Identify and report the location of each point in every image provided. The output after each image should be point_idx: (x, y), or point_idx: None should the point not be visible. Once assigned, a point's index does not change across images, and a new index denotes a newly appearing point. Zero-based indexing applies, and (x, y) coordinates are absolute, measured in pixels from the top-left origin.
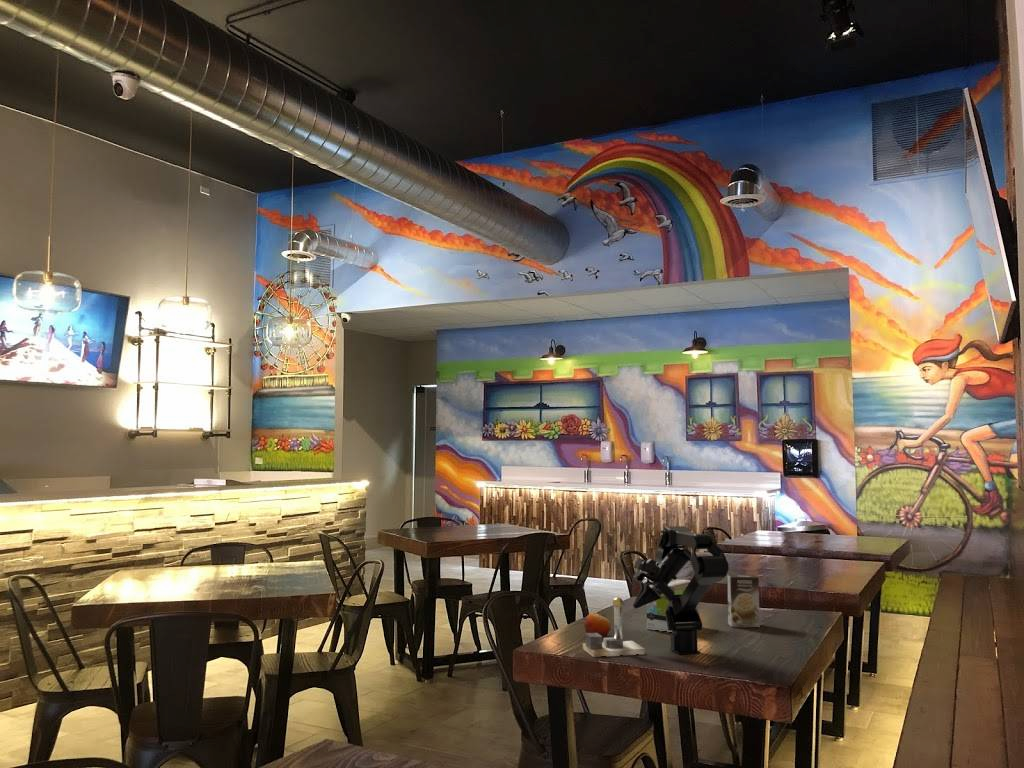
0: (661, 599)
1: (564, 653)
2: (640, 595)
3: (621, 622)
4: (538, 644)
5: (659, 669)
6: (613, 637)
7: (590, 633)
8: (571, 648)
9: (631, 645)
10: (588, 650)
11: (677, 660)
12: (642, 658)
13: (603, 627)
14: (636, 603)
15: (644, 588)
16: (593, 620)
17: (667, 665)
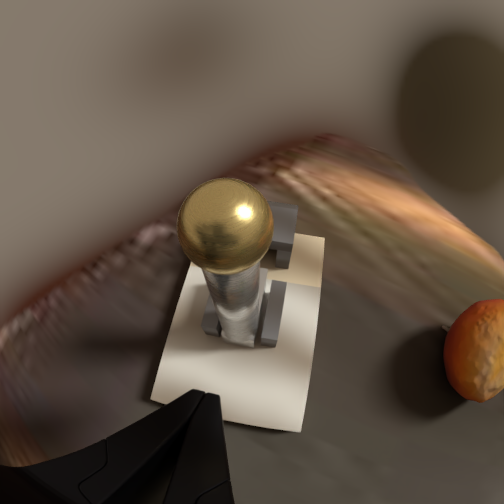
0: None
1: (286, 187)
2: (129, 461)
3: (215, 307)
4: (395, 179)
5: (24, 316)
6: (268, 317)
7: (289, 218)
8: (337, 223)
9: (221, 384)
10: None
11: (53, 428)
12: (117, 355)
13: (451, 357)
14: (167, 406)
15: (24, 495)
16: (477, 313)
17: (33, 361)
